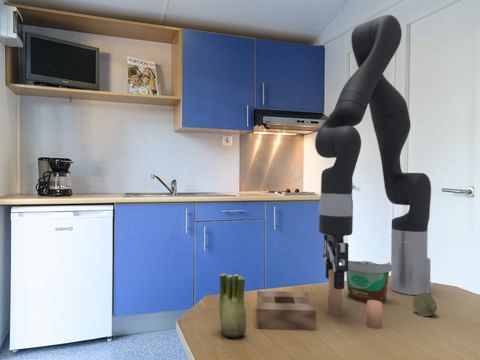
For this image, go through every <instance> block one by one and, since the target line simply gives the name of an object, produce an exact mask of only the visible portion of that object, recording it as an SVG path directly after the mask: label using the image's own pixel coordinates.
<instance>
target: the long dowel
mask: <svg viewBox="0 0 480 360" xmlns="http://www.w3.org/2000/svg"><path fill="white" fill-rule="evenodd" d="M333 282H334V270H333V269H330V270H329V279H328V293H327V294H328V297H327V299H328V304H327V305H328V307H327V310H328V311H327V314H328V315H329V316H330V317H331V316H332V317H341V316H342V314H343V313H342V312H343V311H342V310H343V309H342V308H343V305H342V304H343V289H335V288H334V287H333Z"/></svg>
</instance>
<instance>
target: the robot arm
mask: <svg viewBox="0 0 480 360" xmlns="http://www.w3.org/2000/svg"><path fill="white" fill-rule="evenodd" d="M402 32H403V31H402V27H401V24H400V22H399V20H398V19H397V17H395V16H394V15H391V14H385V15H382V16H378V17H376V18H374V19H373V18H372V19H371V20H368V21H366V22H363V23H361V24H359V25H357V26H356V27H354V29H353V30H352V32H351V42H350V44H351V48H352V52H353V56H354V59H355V62H356V66H357V67H358V69H356V71H355V72H354V73H353V74H352V75H351V76H350V77H349V79H348V80H347V81H346V83H345V84H344V86H343V88H342V90H341V92H340V94H339V96H338V99H337V101H336V104H335V106H334V108H333V110H332V111H331V113H330V114H329V115H328V117H327V118H326V120H325V121H324V122H323V123H322V125H321V126H320V128H319V130H318V131H317V133H316V136H315V140H314V147H315V150H316V153H317V154H318V155H319V156H320V157H321V158H325V159H333V158H334V159H335V160H334V163H333V165H332V166H330V167H328V168H325V169H323V170H322V171H321V174H320V175H321V177H320V198H319V204H318V205H319V207H318V208H319V211H318V214H319V215H318V232H319V233H320V234H323V253H322V254H323V255H322V257H323V259H324V262H325V278H326V279H328V280H329V270H330V269H333V270H334V282H333V287H334V288H335V289H342V290H344V289H345V273H346V271H348V269H349V268H348V260H349V246H350V245H349V243H348V242H345V240H344V237H345V236H351V235H352V234H353V229H354V228H353V225H354V223H353V221H354V220H353V219H354V216H353V215H354V202H353V176H354V172H355V169H356V168H357V167H356V165H357V164H358V163H357V162H358V159H359V156H360V154H361V153H360V152H361V149H362V138H361V134H360V132H359V131H358V129H357V128H356V127H355V126H358V125H359V124H360V123H361V122H362V121H363V119H364V117H365V114H366V111H367V108H368V106H369V112H370V117H371V122H372V126H373V129H374V133H375V137H376V141H377V145H378V150H379V156H380V161H381V169H382V176H383V184H384V191H385V195H386V197H387V199H388V201H389V202H390V203H391V204H394V205H398V206H399V205H401V206H409V208H408V212H407V213H405V214H403V215H401V216H398V217H394V218H393V219H392V220H391V236H390V237H391V240H390V241H391V243H390V244H391V245H390V246H391V247H390V248H391V250H390V252H391V253H390V255H391V256H390V264H391V267H392V271H390V289H391V291H394V292H396V293H400V294H405V295H409V296H417V295H418V294H420V293H427V294H430V295H431V259H430V258H429V257H428V233H429V232H428V231H429V229H428V228H429V227H428V225H429V221H430V215H431V212H430V210H431V199H432V184H431V180H430V177H429V176H428V175H427V174H426V173H425V172H424V173H423V172H403V171H402V166H401V154H402V150H403V148H404V146H405V144H406V141H407V139H408V136H409V134H410V131H411V126H412V125H411V118H410V114H409V113H410V112H409V109H408V105H407V102H406V99H405V97H404V96H403V95H402V94H401V93H400V92H399V90H397V89H396V87H395V86H394V85H392V83H391V82H390V81H389V80H388V79H387V78H386V77H385V75H384V73H385V71H386V69H387V68H388V66H389V64H390V62H391V60H392V59H393V58H394V55H395V54H396V52H397V50H398V49H399V46H400V44H401V41H402Z"/></svg>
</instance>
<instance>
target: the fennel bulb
mask: <svg viewBox="0 0 480 360" xmlns="http://www.w3.org/2000/svg"><path fill="white" fill-rule="evenodd" d="M219 285H220V286H219V288H220V289H219V291H220V292H219V320H220V328H221V330H222V334H223V335H224V336H225V337H228V338H238V337H240V336H242V335H244V334H245V332H246V331H247V312H246V306H245V278H244V277H243V276H240V275H239V274H234V275H233V274H226V273H221V274H220V275H219Z"/></svg>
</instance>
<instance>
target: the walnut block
mask: <svg viewBox="0 0 480 360" xmlns="http://www.w3.org/2000/svg"><path fill="white" fill-rule="evenodd" d="M256 296H257V297H256V312H257V313H256V314H257V315H256V316H257V317H256V318H257V329H267V330H268V329H275V330H276V329H279V330H307V331H308V330H309V331H310V330H312V331H313V330H314V331H316V329H317V328H316V327H317V323H316V322H317V310H316V308H315V306H314V303H313V301H312V299H311V297H310V296H309V293H308V292H307V291H281V290H280V291H279V290H277V291H276V290H272V291H271V290H268V291H267V290H257V292H256Z"/></svg>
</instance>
